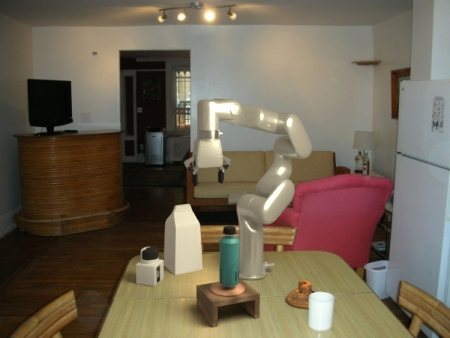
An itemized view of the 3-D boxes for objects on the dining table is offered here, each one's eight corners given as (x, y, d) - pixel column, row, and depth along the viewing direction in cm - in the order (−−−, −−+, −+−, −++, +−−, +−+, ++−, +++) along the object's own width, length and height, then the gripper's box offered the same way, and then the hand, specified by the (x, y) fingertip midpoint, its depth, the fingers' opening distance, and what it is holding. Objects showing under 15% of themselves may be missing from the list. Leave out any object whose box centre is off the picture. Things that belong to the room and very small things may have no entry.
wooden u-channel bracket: (240, 300, 163) (240, 276, 162) (259, 317, 151) (260, 292, 149) (196, 308, 157) (196, 283, 156) (212, 327, 144) (212, 300, 143)
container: (164, 279, 181) (163, 246, 179) (154, 286, 174) (154, 252, 172) (146, 276, 184) (145, 244, 182) (135, 284, 177) (135, 250, 175)
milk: (175, 275, 186) (174, 209, 182) (163, 265, 195) (162, 203, 191) (202, 269, 192) (202, 206, 187) (190, 260, 201) (189, 200, 197)
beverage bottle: (237, 292, 149) (238, 230, 146) (216, 290, 150) (217, 228, 147) (241, 284, 155) (242, 224, 152) (221, 282, 157) (221, 223, 153)
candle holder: (320, 312, 156) (321, 290, 154) (283, 307, 159) (284, 286, 158) (322, 297, 167) (323, 277, 166) (288, 293, 170) (289, 273, 169)
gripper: (226, 133, 172) (226, 180, 175) (180, 135, 166) (181, 183, 168) (235, 135, 166) (234, 184, 168) (188, 137, 159) (188, 187, 161)
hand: (207, 183), depth 168 cm, fingers open, 9 cm apart
